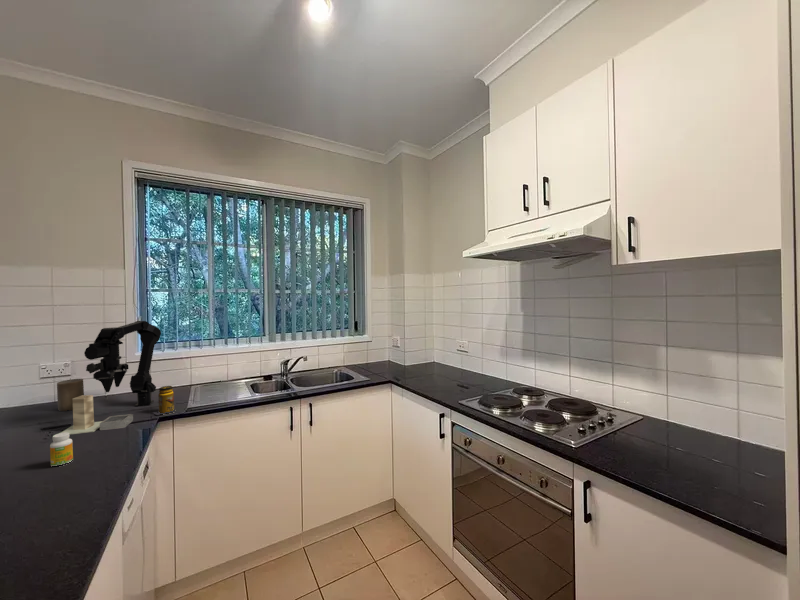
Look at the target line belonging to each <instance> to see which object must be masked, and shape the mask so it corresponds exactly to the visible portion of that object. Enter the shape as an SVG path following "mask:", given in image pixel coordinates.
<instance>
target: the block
mask: <svg viewBox="0 0 800 600" xmlns="http://www.w3.org/2000/svg"><path fill="white" fill-rule="evenodd" d="M94 414H95V413H94V395H93V394H90V395H89V394H87V395H85V394H84V395H82V396H79V397H76V398H73V410H72V418H73V419H72V421H73V422H72V424H73V425H74V430H82V429H87V428H89V427H91V426H93V425H94V422H95V415H94ZM73 425H72V426H73Z"/></svg>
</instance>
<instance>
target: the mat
mask: <svg viewBox="0 0 800 600" xmlns="http://www.w3.org/2000/svg"><path fill="white" fill-rule="evenodd" d="M102 421H103V420H102ZM102 421H101V420H100V421H94V425H93V426H91V427H89V428H87V429H82V430H74V425H71V426H70V427H68V428H66V429H64V430H63V431H61V432H60V433H64V432H68V433H69V436H70V435H79V434H86V433H94V432H95V431H97V430H98V429H100V423H101V422H102Z"/></svg>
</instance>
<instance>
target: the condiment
mask: <svg viewBox="0 0 800 600" xmlns="http://www.w3.org/2000/svg"><path fill="white" fill-rule="evenodd" d="M173 388H174V387H173V385H164V386H161V387H159V388H158V390H159V391H158V411H159V412H160V413H165V412H170V411H173V410H174V409H175V397H174V396H175V393H174V391H173V390H174V389H173Z"/></svg>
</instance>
